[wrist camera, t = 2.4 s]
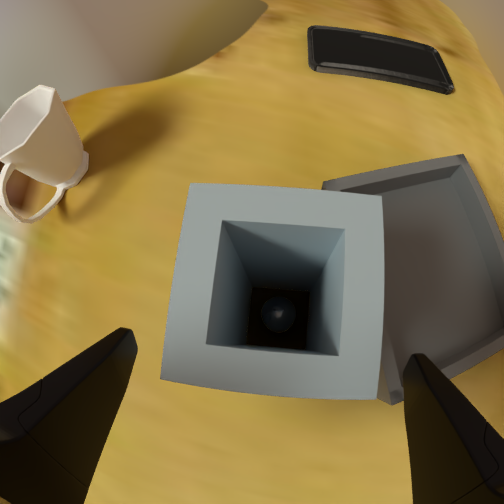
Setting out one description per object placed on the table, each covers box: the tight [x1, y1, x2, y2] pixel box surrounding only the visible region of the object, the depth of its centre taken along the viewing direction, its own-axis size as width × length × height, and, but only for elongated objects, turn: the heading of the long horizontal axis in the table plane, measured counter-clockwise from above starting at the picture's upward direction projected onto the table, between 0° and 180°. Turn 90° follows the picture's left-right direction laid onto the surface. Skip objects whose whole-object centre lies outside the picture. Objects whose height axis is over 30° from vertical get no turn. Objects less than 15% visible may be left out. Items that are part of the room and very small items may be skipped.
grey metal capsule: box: [261, 297, 296, 333], centre depth 18 cm, size 2×2×3 cm
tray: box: [321, 154, 504, 405], centre depth 18 cm, size 14×12×3 cm
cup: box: [0, 85, 89, 224], centre depth 20 cm, size 7×10×8 cm
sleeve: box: [160, 183, 384, 400], centre depth 14 cm, size 8×6×11 cm
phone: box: [307, 25, 454, 95], centre depth 25 cm, size 8×1×15 cm
